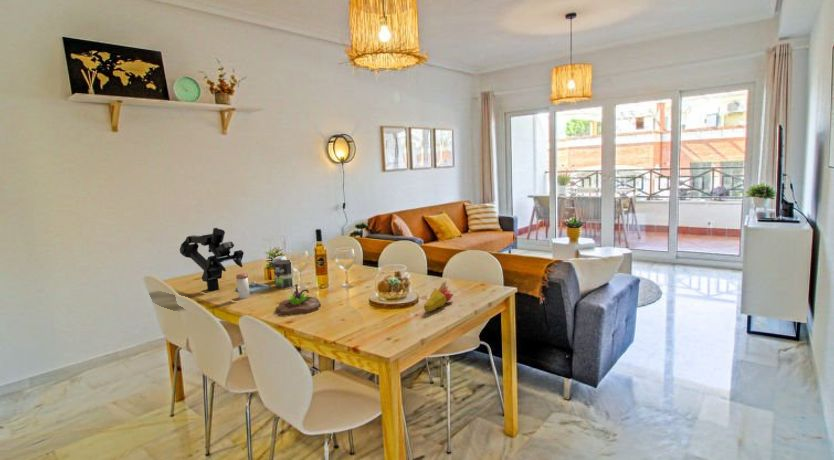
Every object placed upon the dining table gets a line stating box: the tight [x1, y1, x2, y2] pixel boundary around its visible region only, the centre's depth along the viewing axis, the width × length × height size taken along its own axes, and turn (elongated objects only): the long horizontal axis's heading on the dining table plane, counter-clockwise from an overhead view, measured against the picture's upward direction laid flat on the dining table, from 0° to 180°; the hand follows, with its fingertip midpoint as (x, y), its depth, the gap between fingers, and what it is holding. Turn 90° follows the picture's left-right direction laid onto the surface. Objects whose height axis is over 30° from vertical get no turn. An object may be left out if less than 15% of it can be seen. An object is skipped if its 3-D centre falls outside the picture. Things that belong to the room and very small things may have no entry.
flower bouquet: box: [423, 279, 454, 312], centre depth 206 cm, size 8×8×25 cm
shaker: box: [235, 272, 251, 300], centre depth 233 cm, size 5×5×12 cm
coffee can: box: [272, 259, 296, 291], centre depth 251 cm, size 10×10×14 cm
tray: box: [235, 282, 272, 295], centre depth 248 cm, size 14×12×2 cm
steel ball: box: [250, 280, 258, 287], centre depth 253 cm, size 3×3×3 cm
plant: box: [275, 283, 322, 316], centre depth 215 cm, size 20×20×11 cm
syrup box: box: [272, 255, 288, 268], centre depth 262 cm, size 6×6×14 cm
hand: (233, 268), depth 236 cm, fingers open, 9 cm apart
